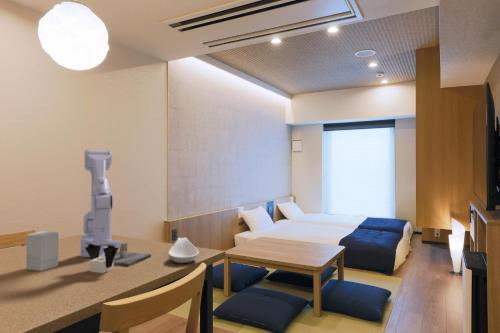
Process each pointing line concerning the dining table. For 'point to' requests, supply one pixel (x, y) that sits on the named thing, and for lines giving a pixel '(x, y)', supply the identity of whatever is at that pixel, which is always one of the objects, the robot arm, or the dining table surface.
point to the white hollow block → (100, 265)
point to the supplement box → (41, 250)
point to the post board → (128, 256)
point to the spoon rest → (183, 251)
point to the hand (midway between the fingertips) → (102, 266)
